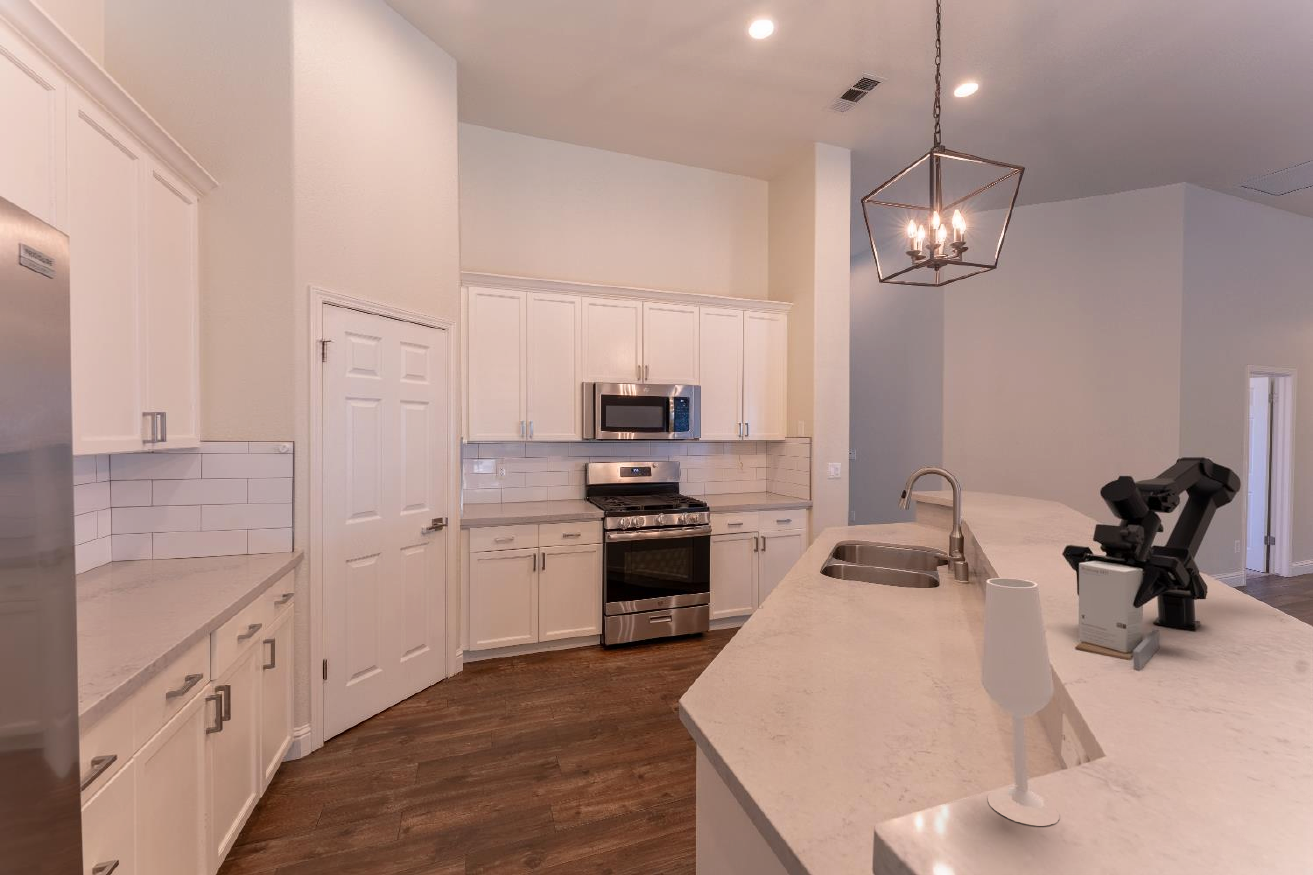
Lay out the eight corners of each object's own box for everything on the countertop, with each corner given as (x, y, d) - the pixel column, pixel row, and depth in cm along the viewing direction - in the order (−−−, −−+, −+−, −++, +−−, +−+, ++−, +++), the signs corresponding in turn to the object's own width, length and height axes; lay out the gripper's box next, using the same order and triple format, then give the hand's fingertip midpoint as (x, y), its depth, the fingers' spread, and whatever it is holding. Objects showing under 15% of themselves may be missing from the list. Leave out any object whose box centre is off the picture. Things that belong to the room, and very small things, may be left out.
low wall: (1154, 645, 109) (1153, 629, 109) (1159, 646, 109) (1159, 630, 109) (1133, 669, 99) (1133, 651, 99) (1140, 670, 98) (1139, 652, 98)
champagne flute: (1058, 799, 64) (1047, 578, 65) (1061, 834, 59) (1049, 592, 59) (988, 782, 68) (978, 574, 68) (984, 814, 62) (974, 586, 63)
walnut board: (1092, 635, 116) (1092, 633, 116) (1144, 644, 110) (1143, 642, 110) (1075, 649, 109) (1075, 646, 109) (1129, 659, 103) (1129, 657, 103)
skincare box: (1078, 641, 112) (1074, 562, 112) (1096, 636, 114) (1092, 559, 115) (1129, 654, 104) (1125, 570, 104) (1147, 648, 107) (1143, 566, 107)
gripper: (1065, 505, 120) (1034, 565, 115) (1177, 512, 104) (1148, 583, 99) (1088, 539, 124) (1060, 600, 119) (1202, 552, 107) (1174, 623, 102)
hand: (1106, 600), depth 109 cm, fingers open, 9 cm apart
